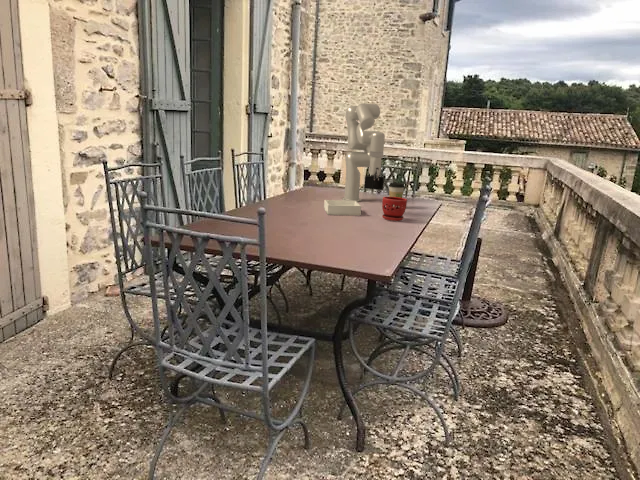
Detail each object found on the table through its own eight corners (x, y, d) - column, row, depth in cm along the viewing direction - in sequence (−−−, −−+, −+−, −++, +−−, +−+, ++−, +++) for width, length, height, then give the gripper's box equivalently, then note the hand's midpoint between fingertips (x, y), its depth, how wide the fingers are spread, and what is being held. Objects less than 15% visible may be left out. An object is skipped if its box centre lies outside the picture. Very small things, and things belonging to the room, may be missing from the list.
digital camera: (383, 188, 279) (384, 176, 277) (382, 190, 274) (383, 177, 272) (365, 186, 281) (366, 174, 279) (364, 188, 276) (365, 176, 274)
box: (324, 209, 284) (324, 199, 283) (355, 210, 287) (355, 200, 285) (327, 214, 268) (328, 205, 267) (360, 215, 271) (361, 206, 269)
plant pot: (404, 222, 258) (406, 200, 255) (380, 220, 260) (381, 198, 257) (405, 218, 270) (407, 197, 267) (382, 216, 273) (383, 195, 270)
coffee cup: (403, 209, 297) (406, 184, 294) (387, 208, 298) (389, 184, 294) (401, 206, 307) (403, 182, 303) (386, 205, 307) (388, 181, 303)
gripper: (366, 153, 280) (364, 183, 285) (373, 156, 264) (370, 188, 269) (379, 153, 281) (376, 184, 286) (386, 156, 265) (383, 189, 270)
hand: (373, 186), depth 277 cm, fingers closed on digital camera, 6 cm apart
